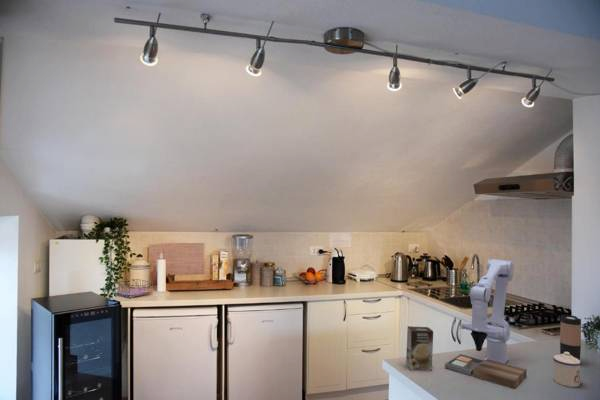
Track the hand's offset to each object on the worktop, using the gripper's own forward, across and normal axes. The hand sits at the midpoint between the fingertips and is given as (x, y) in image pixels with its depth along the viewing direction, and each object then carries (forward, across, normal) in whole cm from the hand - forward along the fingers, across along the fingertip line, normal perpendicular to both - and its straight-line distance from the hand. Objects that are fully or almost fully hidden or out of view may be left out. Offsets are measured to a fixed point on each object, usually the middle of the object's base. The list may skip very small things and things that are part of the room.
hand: (478, 350), depth 166 cm
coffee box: (+10, -20, -12) cm, 25 cm away
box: (+9, -7, +3) cm, 12 cm away
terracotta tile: (+7, -8, +5) cm, 12 cm away
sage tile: (+7, -7, -1) cm, 10 cm away
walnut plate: (+9, +7, +3) cm, 12 cm away
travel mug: (+10, +24, +42) cm, 49 cm away
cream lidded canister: (+10, +27, +18) cm, 34 cm away
